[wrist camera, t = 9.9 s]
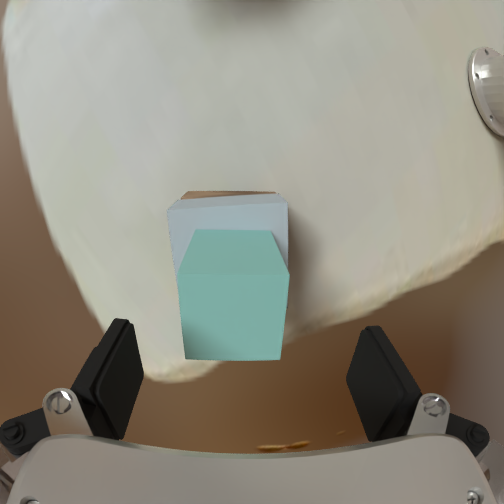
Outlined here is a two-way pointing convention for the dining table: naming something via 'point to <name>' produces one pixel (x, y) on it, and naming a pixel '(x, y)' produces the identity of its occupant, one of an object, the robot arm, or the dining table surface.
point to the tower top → (227, 220)
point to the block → (232, 296)
